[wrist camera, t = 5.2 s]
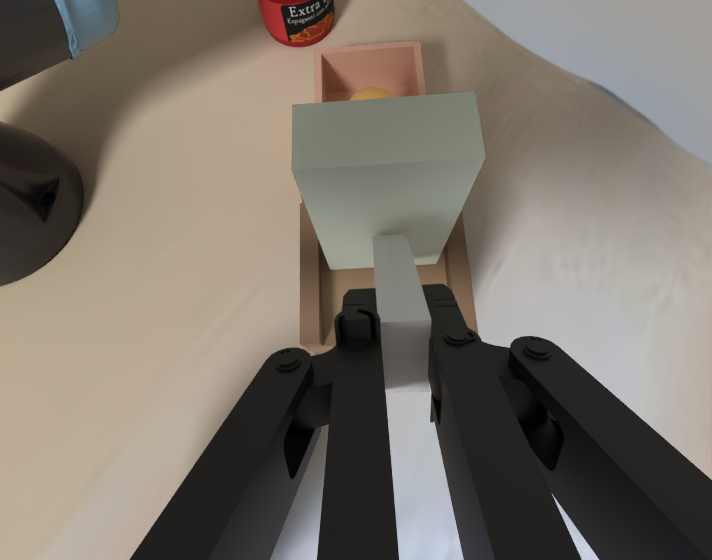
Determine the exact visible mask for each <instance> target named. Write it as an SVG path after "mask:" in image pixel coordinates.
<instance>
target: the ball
mask: <svg viewBox="0 0 712 560" xmlns="http://www.w3.org/2000/svg"><path fill="white" fill-rule="evenodd" d="M390 97H394V96H393V95H392V94H391V93H390V92H388V91H387V90H385V89H383V88H380V87H366V88H363V89H361V90H359V91H358V92H356V93H355V94H354V95H353V96H352V97H351V98H350V100H363V99H376V98H390ZM350 100H349V101H350Z"/></svg>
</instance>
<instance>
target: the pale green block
mask: <svg viewBox="0 0 712 560" xmlns="http://www.w3.org/2000/svg"><path fill="white" fill-rule="evenodd" d="M485 158H486V154H485V148H484V142H483V136H482V130H481V124H480V118H479V112H478V106H477V100H476V94H475V91H470V92H457V93H443V94H430V95H417V96H403V97H390V98H376V99H363V100H350V101H336V102H323V103H310V104H296V105H292V172H293V175H294V177H295V180H296V183H297V185H298V188H299V190H300V193H301V196H302V198H303V201H304V203H305V206H306V208H307V211H308V214H309V216H310V219H311V221H312V224H313V226H314V229H315V232H316V234H317V237H318V239H319V242H320V245H321V247H322V250H323V252H324V255H325V257H326V260H327V263H328V265H329V268H330V270H338V269H356V268H374V264H373V243H372V236H381V235H399V234H406V235H407V238H408V242H409V245H410V249H411V252H412V255H413V259H414V262H415V265H427V264H436V263H437V261H438V259H439V257H440V255H441V252H442V250H443V248H444V246H445V244H446V242H447V240H448V238H449V235H450V233H451V231H452V229H453V227H454V225H455V223H456V220H457V218H458V216H459V214H460V212H461V210H462V208H463V205H464V203H465V201H466V199H467V197H468V195H469V193H470V190H471V188H472V186H473V184H474V182H475V180H476V178H477V176H478V173H479V171H480V169H481V167H482V165H483V163H484V161H485Z"/></svg>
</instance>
